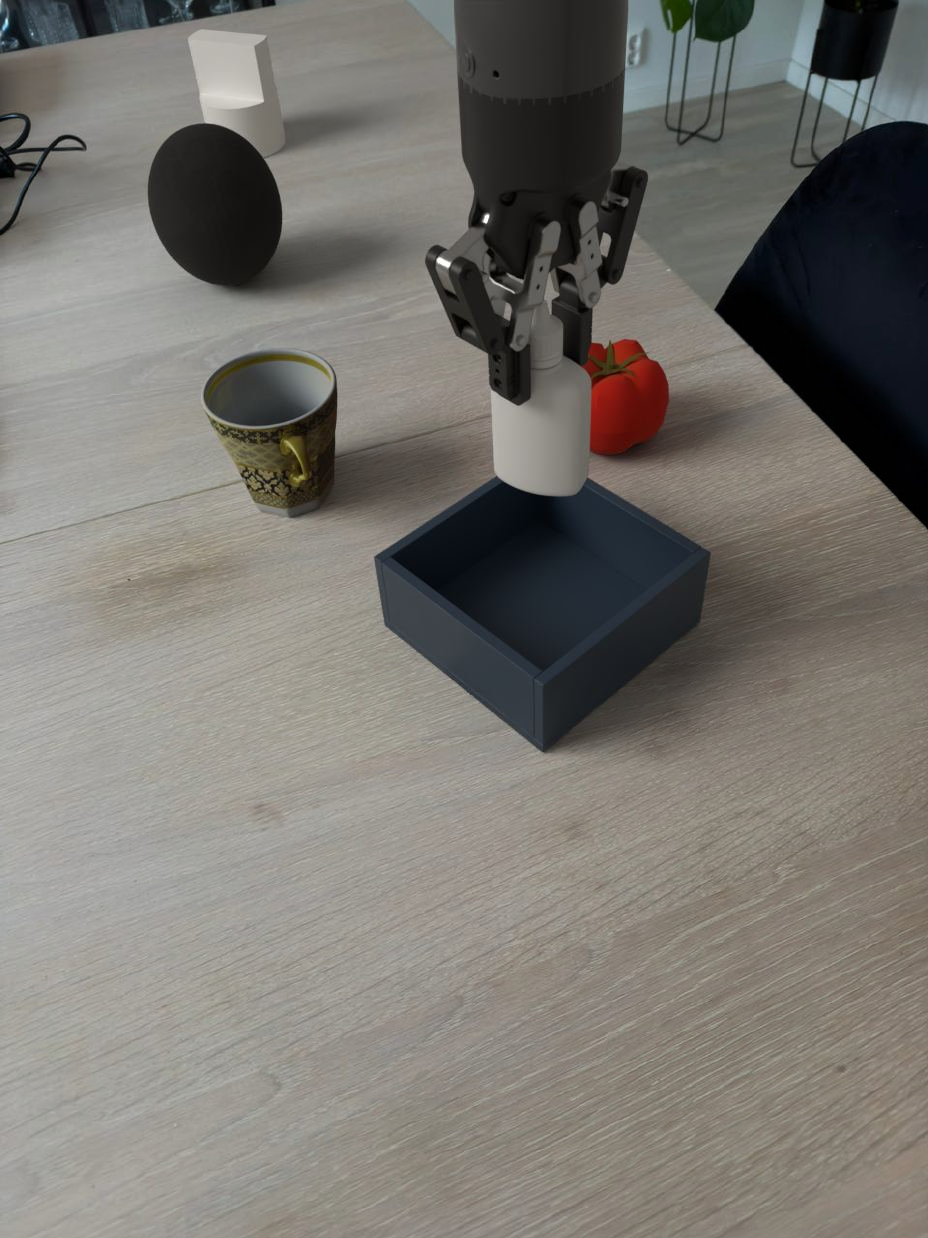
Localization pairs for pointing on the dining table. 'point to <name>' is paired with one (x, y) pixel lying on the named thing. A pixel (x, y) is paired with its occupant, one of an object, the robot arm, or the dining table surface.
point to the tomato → (624, 396)
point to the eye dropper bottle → (545, 419)
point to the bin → (542, 599)
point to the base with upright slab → (238, 86)
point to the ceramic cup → (277, 425)
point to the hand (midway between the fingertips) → (541, 378)
